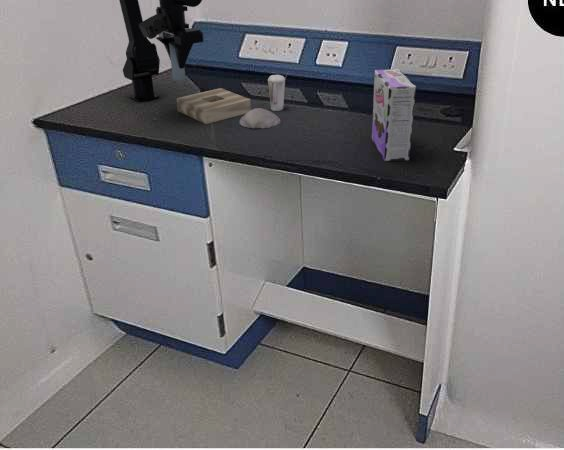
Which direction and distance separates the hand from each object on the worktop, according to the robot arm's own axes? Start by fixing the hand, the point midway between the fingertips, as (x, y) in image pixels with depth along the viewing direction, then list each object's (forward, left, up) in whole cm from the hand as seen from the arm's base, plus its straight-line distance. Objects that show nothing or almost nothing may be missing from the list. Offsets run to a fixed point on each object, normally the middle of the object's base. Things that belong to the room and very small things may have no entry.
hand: (178, 67), depth 159 cm
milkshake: (+13, +22, -13) cm, 28 cm away
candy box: (+52, +23, -13) cm, 58 cm away
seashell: (+18, +12, -13) cm, 25 cm away
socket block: (+3, +8, -13) cm, 15 cm away
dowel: (0, 0, -3) cm, 3 cm away
